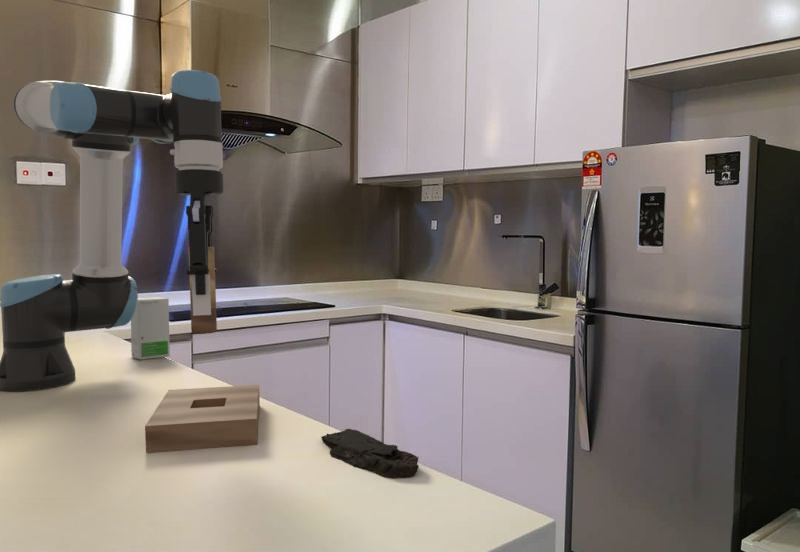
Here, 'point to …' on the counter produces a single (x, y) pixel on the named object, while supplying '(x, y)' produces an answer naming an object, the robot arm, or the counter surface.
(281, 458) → the counter surface
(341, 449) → the black flat rough slab
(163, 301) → the skincare box
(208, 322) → the oak dowel
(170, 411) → the seat board
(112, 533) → the counter surface
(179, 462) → the counter surface
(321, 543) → the counter surface
